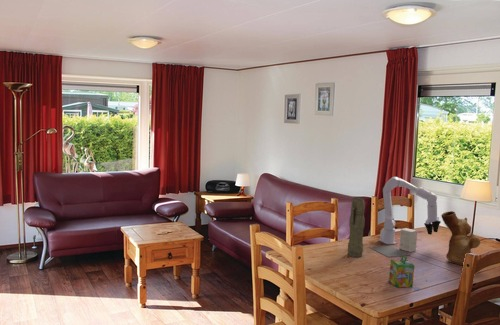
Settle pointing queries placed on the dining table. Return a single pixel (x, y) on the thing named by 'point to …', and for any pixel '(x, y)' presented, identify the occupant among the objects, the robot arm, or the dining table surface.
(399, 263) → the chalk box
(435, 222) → the robot arm
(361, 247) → the olive green carved pillar
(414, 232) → the small box
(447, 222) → the ceramic vessel
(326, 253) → the dining table surface
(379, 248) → the mat
